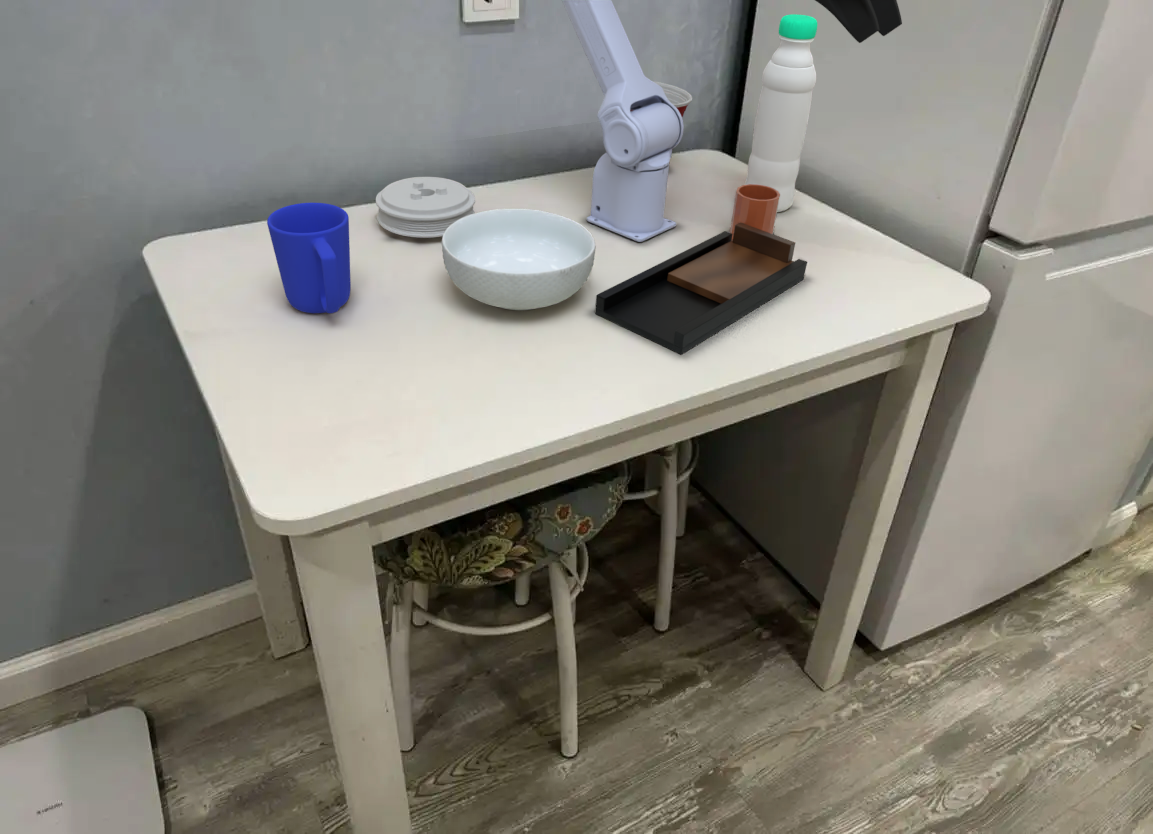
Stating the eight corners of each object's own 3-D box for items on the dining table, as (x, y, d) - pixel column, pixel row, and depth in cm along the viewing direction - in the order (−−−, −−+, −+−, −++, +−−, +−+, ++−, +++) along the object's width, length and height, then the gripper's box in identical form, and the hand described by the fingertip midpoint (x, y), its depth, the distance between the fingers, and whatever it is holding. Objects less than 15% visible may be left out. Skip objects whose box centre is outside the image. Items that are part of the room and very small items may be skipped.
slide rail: (594, 313, 100) (596, 294, 98) (722, 248, 115) (724, 230, 114) (681, 355, 93) (683, 335, 92) (803, 279, 109) (807, 261, 107)
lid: (493, 232, 116) (492, 195, 113) (403, 252, 110) (400, 214, 107) (448, 198, 124) (446, 163, 121) (362, 215, 118) (358, 179, 115)
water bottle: (795, 215, 125) (833, 24, 110) (745, 212, 125) (776, 21, 110) (786, 195, 131) (821, 12, 116) (738, 193, 130) (767, 9, 116)
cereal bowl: (467, 341, 94) (465, 281, 89) (428, 272, 106) (425, 216, 102) (615, 318, 99) (620, 259, 95) (562, 254, 111) (564, 200, 107)
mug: (299, 344, 92) (285, 255, 86) (273, 292, 100) (259, 208, 94) (377, 328, 95) (369, 241, 89) (346, 279, 103) (336, 197, 98)
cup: (721, 238, 117) (728, 191, 114) (744, 227, 121) (751, 180, 117) (756, 252, 114) (764, 204, 111) (779, 240, 118) (788, 192, 114)
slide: (666, 280, 105) (670, 254, 103) (733, 246, 114) (737, 221, 112) (729, 307, 100) (733, 280, 98) (793, 268, 109) (798, 243, 107)
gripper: (824, -123, 80) (896, 12, 81) (874, -117, 91) (937, 3, 92) (761, -69, 85) (830, 59, 86) (815, -69, 95) (876, 44, 96)
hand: (881, 33), depth 89 cm, fingers open, 7 cm apart
